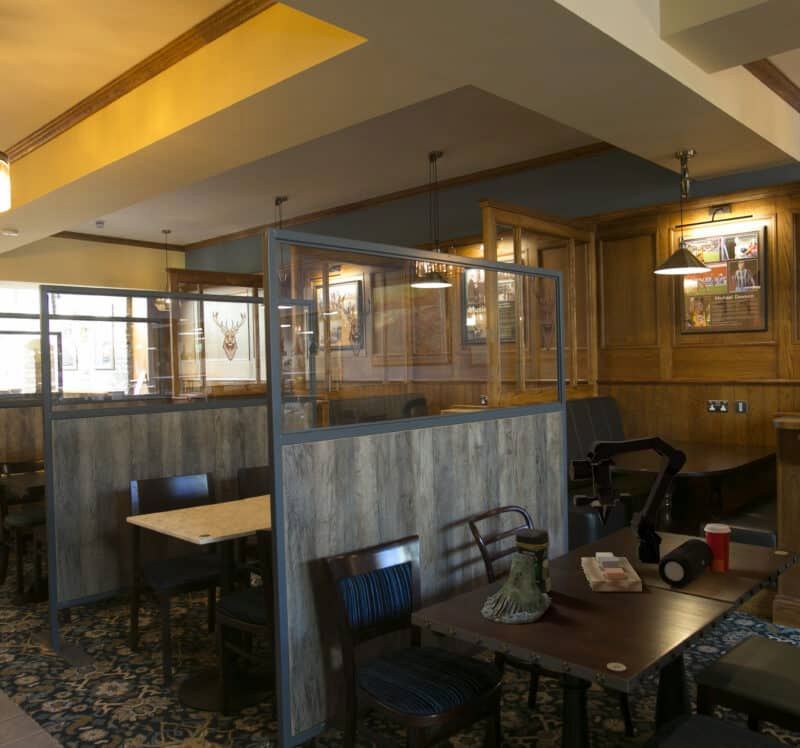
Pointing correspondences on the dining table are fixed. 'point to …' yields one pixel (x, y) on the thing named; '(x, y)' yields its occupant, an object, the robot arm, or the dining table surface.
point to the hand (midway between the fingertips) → (604, 525)
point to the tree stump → (518, 595)
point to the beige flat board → (600, 584)
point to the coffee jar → (536, 554)
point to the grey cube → (608, 562)
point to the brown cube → (614, 574)
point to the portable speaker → (685, 563)
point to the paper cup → (718, 546)
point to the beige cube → (603, 556)
